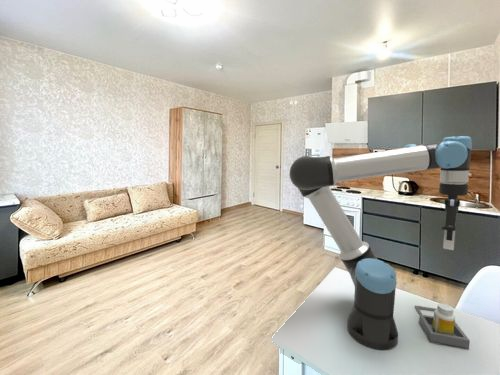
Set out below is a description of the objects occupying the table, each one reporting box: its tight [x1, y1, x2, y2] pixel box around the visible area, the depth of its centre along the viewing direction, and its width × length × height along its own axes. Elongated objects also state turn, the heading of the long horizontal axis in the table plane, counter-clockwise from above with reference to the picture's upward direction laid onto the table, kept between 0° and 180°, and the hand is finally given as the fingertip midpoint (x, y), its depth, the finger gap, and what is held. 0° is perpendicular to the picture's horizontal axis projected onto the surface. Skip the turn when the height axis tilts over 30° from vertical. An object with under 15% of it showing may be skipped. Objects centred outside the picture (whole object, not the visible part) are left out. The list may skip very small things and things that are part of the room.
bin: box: [418, 314, 471, 350], centre depth 80 cm, size 10×10×3 cm
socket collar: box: [414, 305, 437, 315], centre depth 90 cm, size 9×9×1 cm
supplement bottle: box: [432, 302, 456, 336], centre depth 80 cm, size 5×5×10 cm
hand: (448, 243), depth 86 cm, fingers open, 13 cm apart
